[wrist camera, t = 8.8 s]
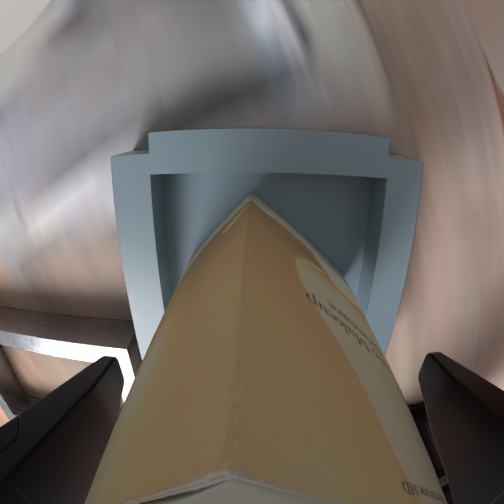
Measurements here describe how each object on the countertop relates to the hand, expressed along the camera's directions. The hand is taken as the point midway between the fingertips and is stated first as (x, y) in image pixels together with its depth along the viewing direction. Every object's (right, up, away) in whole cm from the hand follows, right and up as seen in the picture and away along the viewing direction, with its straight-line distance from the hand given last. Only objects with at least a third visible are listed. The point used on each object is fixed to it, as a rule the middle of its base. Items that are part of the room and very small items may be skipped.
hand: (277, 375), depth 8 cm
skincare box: (0, +3, +7) cm, 7 cm away
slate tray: (0, +3, +7) cm, 8 cm away
